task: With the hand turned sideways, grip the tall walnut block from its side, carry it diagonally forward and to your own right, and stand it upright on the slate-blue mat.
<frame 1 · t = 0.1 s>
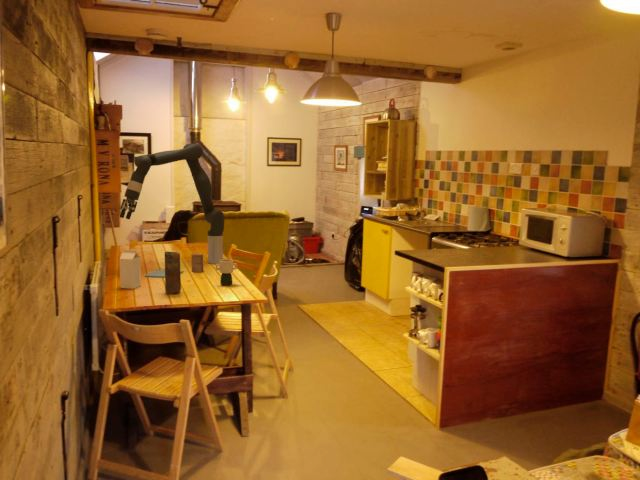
hand: (124, 218, 295), 31 cm above the table, tool tilted 20°, fingers open, 8 cm apart
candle: (173, 292, 262), on the table
character mug: (226, 285, 280), on the table
walnut block: (197, 271, 310), on the table
milk carton: (130, 287, 272), on the table
slate-blue mat: (164, 274, 301), on the table
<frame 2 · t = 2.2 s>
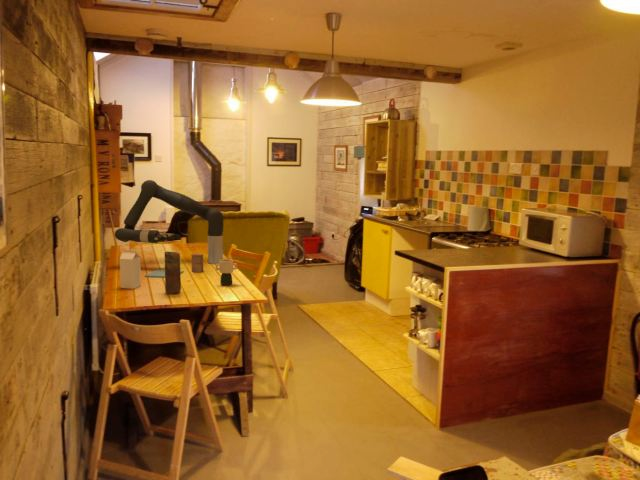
hand: (176, 237, 309), 19 cm above the table, tool horizontal, fingers open, 8 cm apart
nothing on the table moved.
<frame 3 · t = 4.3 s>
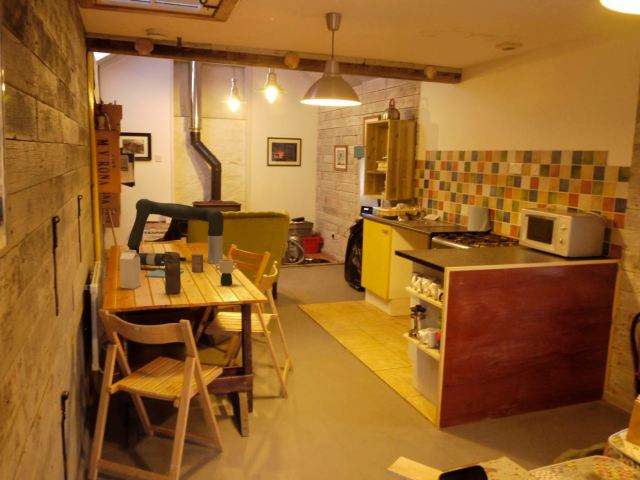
hand: (183, 260, 310), 6 cm above the table, tool horizontal, fingers open, 8 cm apart
nothing on the table moved.
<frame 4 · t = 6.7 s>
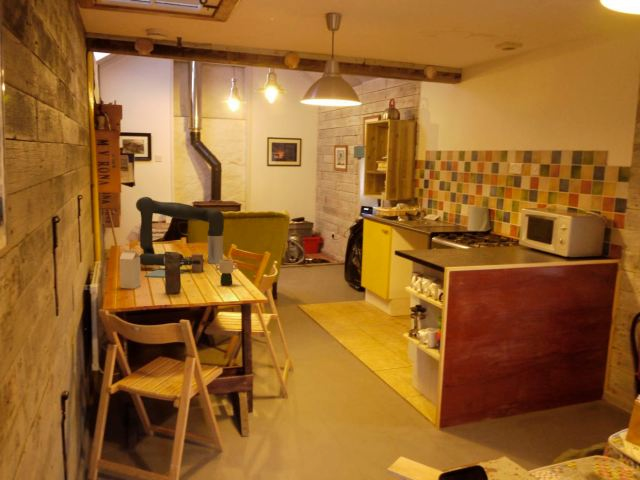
hand: (201, 261, 309), 6 cm above the table, tool horizontal, fingers closed on walnut block, 5 cm apart
walnut block: (197, 271, 310), on the table, touching gripper
everything else where it was.
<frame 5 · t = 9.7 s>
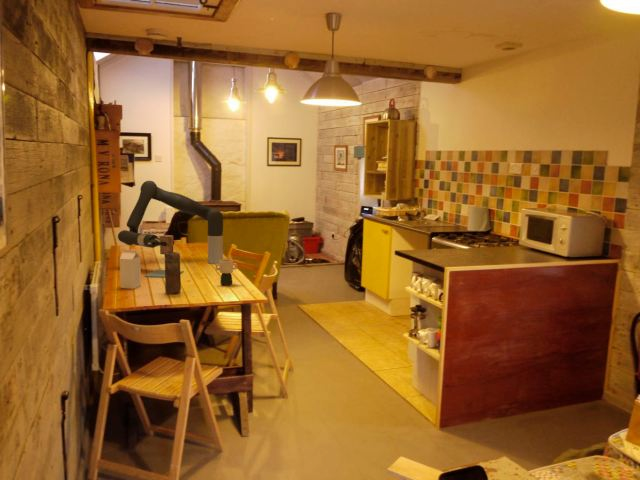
hand: (170, 243, 298), 18 cm above the table, tool horizontal, fingers closed on walnut block, 5 cm apart
walnut block: (166, 253, 300), point 12 cm above the table, touching gripper
everything else where it was.
when the fingers open (8 cm above the table, at t = 12.8 s): walnut block stays where it is, resting on slate-blue mat.
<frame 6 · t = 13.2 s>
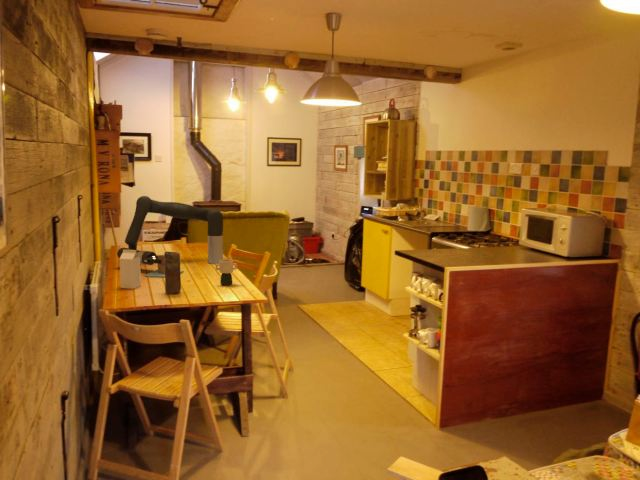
hand: (166, 260, 299), 8 cm above the table, tool horizontal, fingers open, 8 cm apart
walnut block: (164, 273, 301), point 1 cm above the table, touching slate-blue mat
everything else where it was.
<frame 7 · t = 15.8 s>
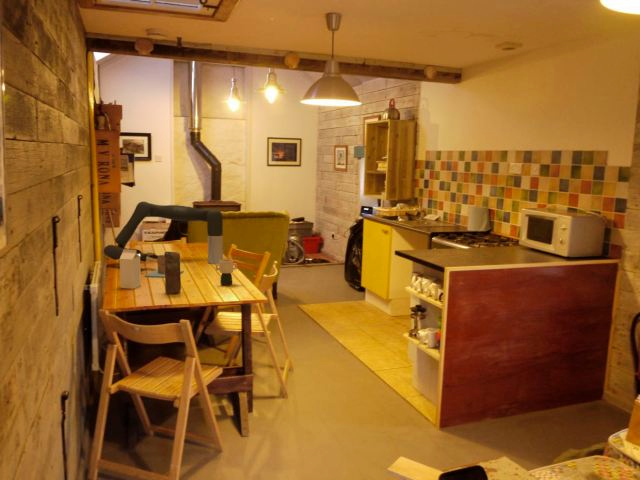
hand: (151, 258, 305), 8 cm above the table, tool horizontal, fingers open, 8 cm apart
nothing on the table moved.
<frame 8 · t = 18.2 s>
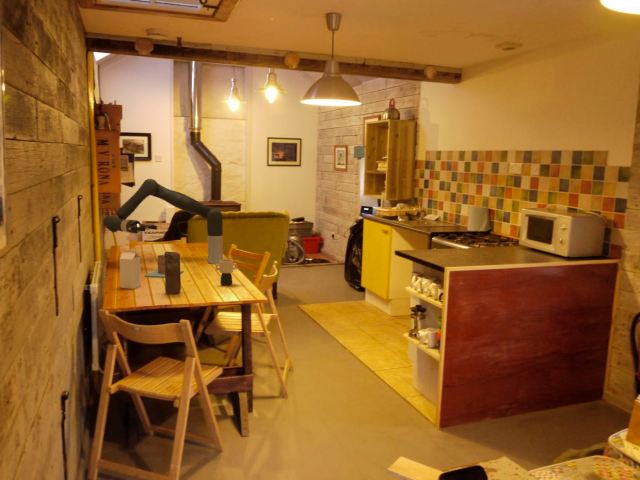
hand: (150, 228, 303), 25 cm above the table, tool horizontal, fingers open, 8 cm apart
nothing on the table moved.
at the end: walnut block inside the target area on the slate-blue mat (0.0 cm from its centre), point 0.8 cm above the slate-blue mat's base; walnut block tilted 0°; the gripper is holding nothing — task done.
